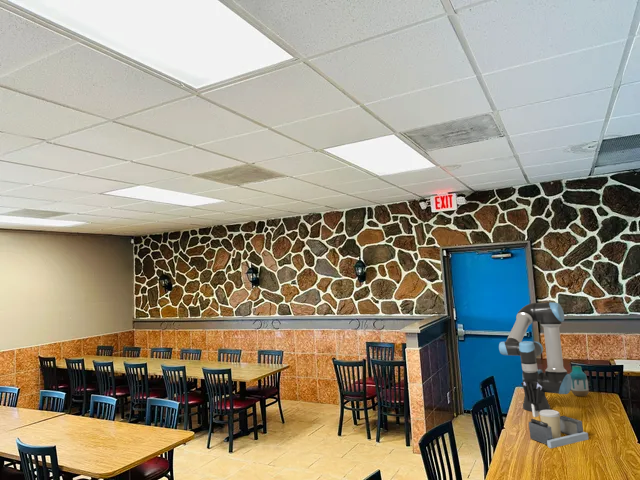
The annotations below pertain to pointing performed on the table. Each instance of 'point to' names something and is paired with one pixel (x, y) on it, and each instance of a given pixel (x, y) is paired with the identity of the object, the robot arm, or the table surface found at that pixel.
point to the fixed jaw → (570, 425)
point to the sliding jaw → (540, 431)
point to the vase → (579, 381)
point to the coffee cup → (552, 421)
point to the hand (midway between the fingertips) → (536, 416)
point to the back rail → (567, 440)
